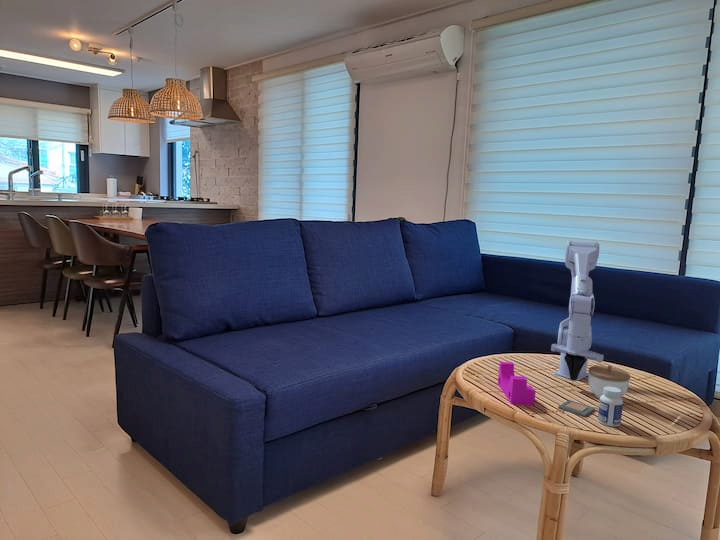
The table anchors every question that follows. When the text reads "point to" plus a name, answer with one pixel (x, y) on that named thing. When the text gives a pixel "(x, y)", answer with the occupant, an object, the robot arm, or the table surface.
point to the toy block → (515, 385)
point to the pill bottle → (610, 407)
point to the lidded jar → (607, 379)
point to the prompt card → (576, 408)
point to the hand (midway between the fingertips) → (573, 379)
